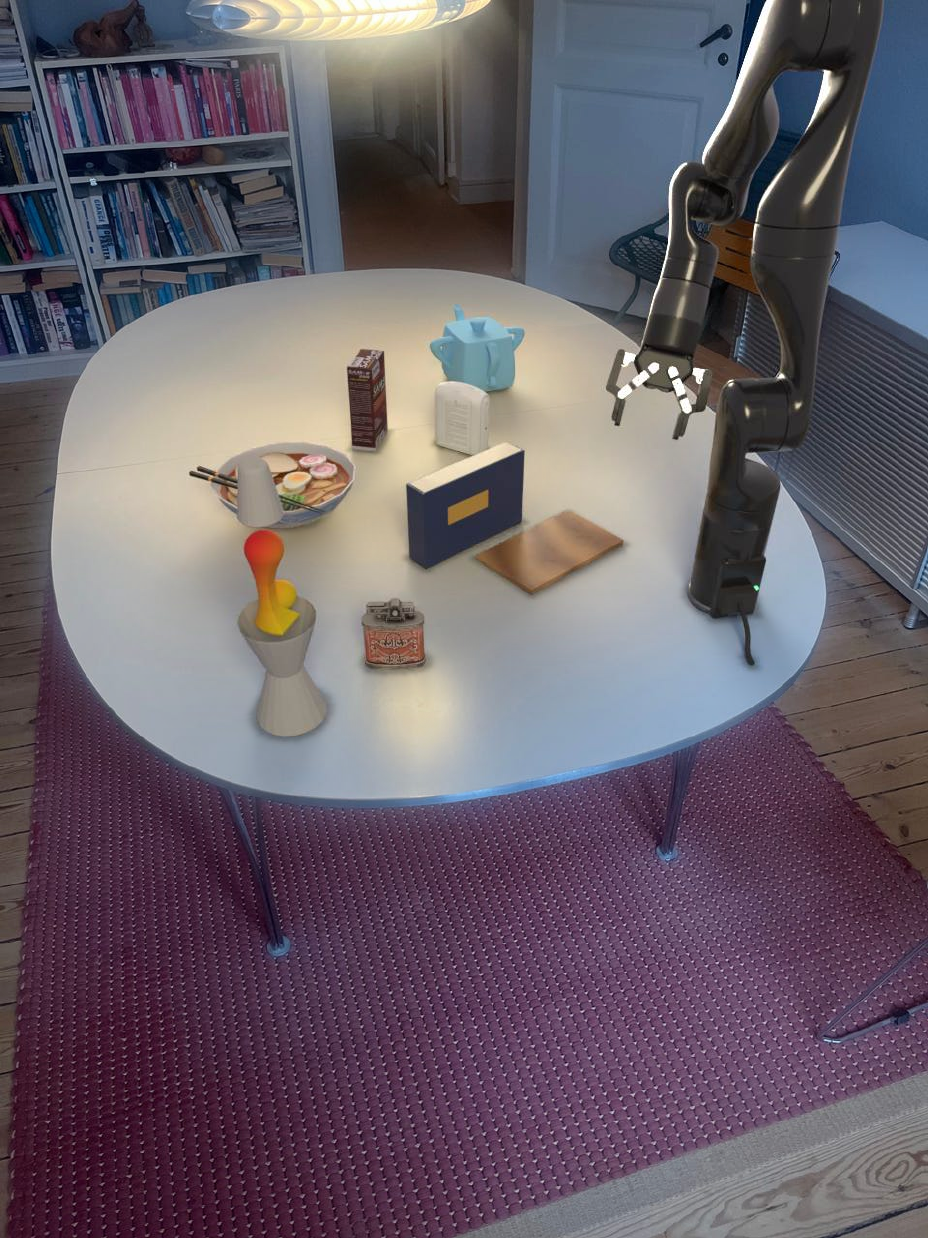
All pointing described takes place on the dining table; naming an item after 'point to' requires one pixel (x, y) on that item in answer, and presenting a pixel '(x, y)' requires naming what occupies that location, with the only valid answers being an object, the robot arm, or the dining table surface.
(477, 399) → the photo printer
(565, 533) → the cork mat
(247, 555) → the lava lamp
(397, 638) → the lighter
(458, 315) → the teapot
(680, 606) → the dining table surface
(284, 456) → the ramen bowl
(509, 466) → the book
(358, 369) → the supplement box
